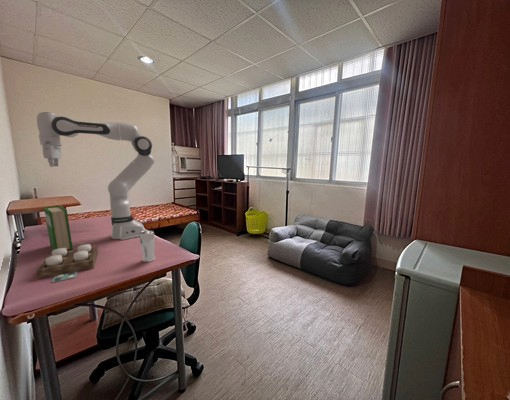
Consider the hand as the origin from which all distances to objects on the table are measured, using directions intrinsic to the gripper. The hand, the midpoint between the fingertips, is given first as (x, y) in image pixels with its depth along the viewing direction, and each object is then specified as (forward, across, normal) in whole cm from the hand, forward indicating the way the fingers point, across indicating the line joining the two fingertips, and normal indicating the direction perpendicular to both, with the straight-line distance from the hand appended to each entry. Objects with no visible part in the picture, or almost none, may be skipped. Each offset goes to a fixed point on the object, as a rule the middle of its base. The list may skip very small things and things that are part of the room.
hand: (54, 166), depth 129 cm
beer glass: (+48, -50, -42) cm, 81 cm away
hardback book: (+48, -6, +1) cm, 49 cm away
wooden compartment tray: (+48, -37, -8) cm, 61 cm away
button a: (+44, -32, -14) cm, 56 cm away
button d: (+44, -42, -4) cm, 61 cm away
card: (+48, -51, -8) cm, 70 cm away
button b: (+44, -32, -4) cm, 55 cm away
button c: (+44, -42, -14) cm, 63 cm away
